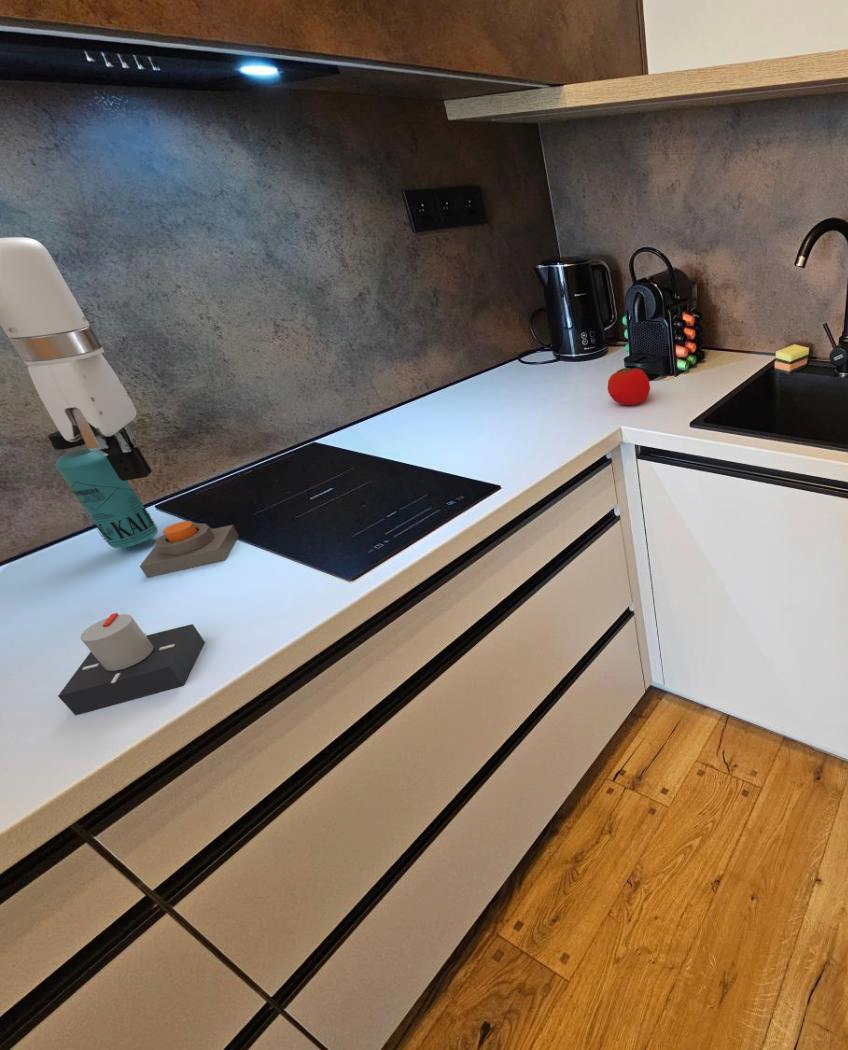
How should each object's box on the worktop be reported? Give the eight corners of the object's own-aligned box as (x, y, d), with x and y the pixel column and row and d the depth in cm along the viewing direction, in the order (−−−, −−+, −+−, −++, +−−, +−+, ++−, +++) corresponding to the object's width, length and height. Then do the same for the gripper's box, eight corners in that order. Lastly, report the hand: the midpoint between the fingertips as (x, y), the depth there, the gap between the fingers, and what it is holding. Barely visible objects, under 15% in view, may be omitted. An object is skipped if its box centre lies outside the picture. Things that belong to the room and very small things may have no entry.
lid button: (165, 545, 87) (159, 535, 86) (173, 534, 90) (167, 524, 89) (193, 539, 88) (187, 529, 87) (201, 528, 91) (195, 518, 90)
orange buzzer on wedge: (147, 578, 86) (132, 556, 84) (167, 551, 93) (153, 530, 91) (225, 560, 89) (212, 538, 87) (239, 535, 96) (227, 514, 94)
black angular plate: (73, 717, 63) (55, 697, 62) (108, 665, 70) (92, 646, 69) (182, 687, 66) (167, 667, 65) (205, 640, 73) (193, 621, 72)
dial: (144, 664, 65) (119, 631, 63) (96, 675, 64) (69, 643, 62) (160, 639, 69) (137, 608, 67) (115, 650, 68) (90, 618, 65)
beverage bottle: (121, 542, 96) (43, 429, 86) (170, 530, 99) (100, 419, 88) (108, 561, 91) (23, 443, 81) (160, 549, 94) (84, 432, 83)
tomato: (659, 401, 139) (656, 366, 135) (624, 413, 134) (619, 377, 129) (637, 393, 145) (633, 359, 141) (602, 404, 140) (597, 369, 136)
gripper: (52, 338, 79) (127, 462, 88) (-16, 364, 67) (79, 505, 76) (120, 331, 81) (186, 453, 90) (66, 355, 69) (148, 492, 78)
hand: (137, 476), depth 83 cm, fingers closed
